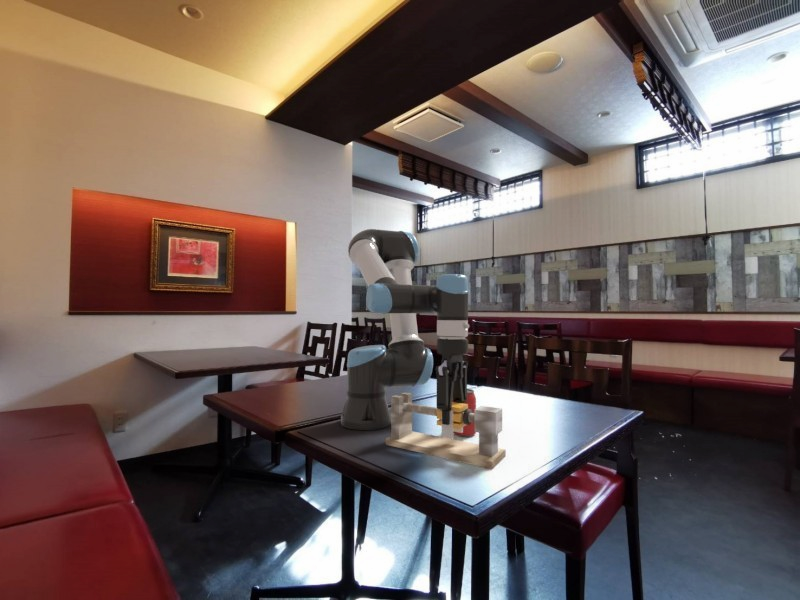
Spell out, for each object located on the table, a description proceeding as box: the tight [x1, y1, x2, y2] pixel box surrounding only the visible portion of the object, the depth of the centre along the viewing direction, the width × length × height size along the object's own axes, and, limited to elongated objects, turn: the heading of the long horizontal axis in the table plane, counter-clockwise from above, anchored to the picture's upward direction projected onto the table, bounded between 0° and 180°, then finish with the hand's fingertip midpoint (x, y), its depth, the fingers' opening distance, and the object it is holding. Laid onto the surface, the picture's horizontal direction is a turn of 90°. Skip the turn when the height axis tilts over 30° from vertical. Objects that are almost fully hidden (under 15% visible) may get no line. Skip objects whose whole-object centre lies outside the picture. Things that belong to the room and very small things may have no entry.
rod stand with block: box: [385, 392, 507, 470], centre depth 94 cm, size 28×9×12 cm, turn 57°
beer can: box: [452, 388, 477, 438], centre depth 107 cm, size 7×7×12 cm
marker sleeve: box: [436, 402, 468, 429], centre depth 93 cm, size 6×5×5 cm
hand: (452, 434), depth 93 cm, fingers closed on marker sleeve, 5 cm apart
